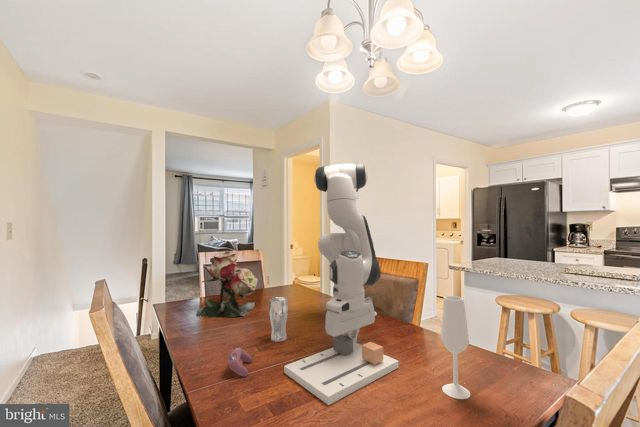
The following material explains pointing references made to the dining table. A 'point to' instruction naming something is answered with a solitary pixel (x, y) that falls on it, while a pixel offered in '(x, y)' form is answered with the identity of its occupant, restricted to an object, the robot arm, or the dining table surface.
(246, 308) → the rose bouquet
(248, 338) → the dining table surface
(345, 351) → the block
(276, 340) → the beer glass
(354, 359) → the fader panel
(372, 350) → the block
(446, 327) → the champagne flute
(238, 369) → the video game controller
